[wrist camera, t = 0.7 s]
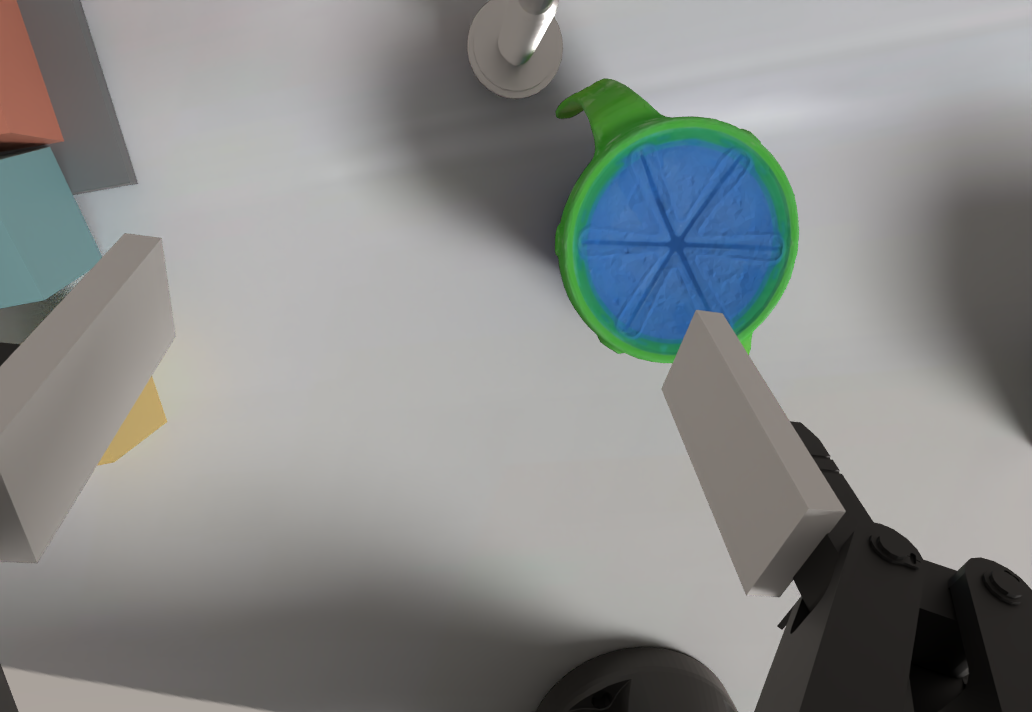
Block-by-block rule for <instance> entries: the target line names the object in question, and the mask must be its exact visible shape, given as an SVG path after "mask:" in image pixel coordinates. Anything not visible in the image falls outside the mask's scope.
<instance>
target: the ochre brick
mask: <svg viewBox="0 0 1032 712" xmlns="http://www.w3.org/2000/svg"><path fill="white" fill-rule="evenodd" d="M21 344H22V343H21ZM21 344H20V345H21ZM166 422H167V420H166V417H165V414H164V411H163V408H162V405H161V402H160V399H159V396H158V393H157V390H156V387H155V384H154V381H153V378H152V376H151V378H150V379H149V381H148V383H147V384H146V386H145V388H144V389H143V391H142V392H141V394H140V396H139V397H138V399H137V401H136V402H135V404H134V406H133V407H132V409H131V410H130V412H129V414H128V415H127V417H126V419H125V420H124V422H123V424H122V425H121V427H120V428H119V430H118V432H117V433H116V435H115V437H114V438H113V440H112V442H111V443H110V445H109V447H108V448H107V450H106V451H105V453H104V455H103V456H102V458H101V460H100V461H99V463H98V465H103V464H108V463H113V462H115V461H116V460H118V459H119V458H120V457H122V456H123V455H124V454H126V453H127V452H128V451H130V450H131V449H132V448H133V447H135V446H136V445H137V444H139V443H140V442H141V441H143V440H144V439H145V438H147V437H148V436H149V435H150V434H152V433H153V432H154V431H156V430H157V429H158V428H160V427H161V426H162V425H164V424H165V423H166ZM98 465H97V466H98Z"/></svg>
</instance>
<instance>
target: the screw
mask: <svg viewBox="0 0 1032 712" xmlns="http://www.w3.org/2000/svg"><path fill="white" fill-rule="evenodd" d="M558 2H559V0H491V1H489V2H488V3H487V4H485V5H484V6H483V7H482V8H481V9H480V10H479V12H478V13H477V14H476V16H475V17H474V19H473V22H472V24H471V26H470V29H469V34H468V39H467V53H468V57H469V62H470V65H471V67H472V70H473V72H474V74H475V75H476V77H477V78H478V80H479V81H480V83H482V84H483V85H484V86H485V87H486V88H487V89H488V90H489V91H491V92H493V93H494V94H496V95H498V96H501V97H504V98H510V99H521V98H527V97H530V96H532V95H535V94H537V93H538V92H540V91H541V90H543V89H544V88H545V87H546V86H547V85H548V84H549V83H550V82H551V81H552V79H553V78H554V76H555V74H556V73H557V71H558V68H559V66H560V63H561V59H562V52H563V43H562V35H561V32H560V28H559V25H558V23H557V21H556V19H555V17H554V15H555V13H556V11H557V8H558Z"/></svg>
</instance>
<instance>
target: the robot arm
mask: <svg viewBox="0 0 1032 712" xmlns="http://www.w3.org/2000/svg"><path fill="white" fill-rule="evenodd" d="M175 337H176V335H175V328H174V321H173V314H172V307H171V300H170V293H169V286H168V279H167V272H166V265H165V258H164V251H163V244H162V238H157V237H150V236H142V235H135V234H127V233H125V234H124V235H123V236H122V237H121V238H120V239H119V240H118V241H117V242H116V243H115V244H114V245H113V246H112V247H111V249H110V250H109V251H108V252H107V253H106V254H105V255H104V256H103V257H102V258H101V259H100V260H99V261H98V262H97V264H96V265H95V266H94V267H93V268H92V269H91V270H90V271H89V272H88V273H87V274H86V275H85V276H84V277H83V279H82V280H81V281H80V282H79V283H78V284H77V285H76V286H75V287H74V288H73V289H72V290H71V291H70V292H69V293H68V295H67V296H66V297H65V298H64V299H63V300H62V301H61V302H60V303H59V304H58V305H57V306H56V307H55V308H54V310H53V311H52V312H51V313H50V314H49V315H48V316H47V317H46V318H45V319H44V320H43V321H42V322H41V323H40V325H39V326H38V327H37V328H36V329H35V330H34V331H33V332H32V333H31V334H30V335H29V336H28V337H27V338H26V340H25V341H24V342H23V343H22V344H21V345H20V344H11V343H1V342H0V562H21V563H38V561H39V560H40V558H41V556H42V555H43V553H44V551H45V550H46V548H47V546H48V545H49V543H50V542H51V540H52V538H53V537H54V535H55V533H56V532H57V530H58V528H59V527H60V525H61V524H62V522H63V520H64V519H65V517H66V515H67V514H68V512H69V510H70V509H71V507H72V505H73V504H74V502H75V501H76V499H77V497H78V496H79V494H80V492H81V491H82V489H83V487H84V486H85V484H86V483H87V481H88V479H89V478H90V476H91V474H92V473H93V471H94V469H95V468H96V466H97V465H98V463H99V461H100V460H101V458H102V456H103V455H104V453H105V451H106V450H107V448H108V447H109V445H110V443H111V442H112V440H113V438H114V437H115V435H116V433H117V432H118V430H119V428H120V427H121V425H122V424H123V422H124V420H125V419H126V417H127V415H128V414H129V412H130V410H131V409H132V407H133V406H134V404H135V402H136V401H137V399H138V397H139V396H140V394H141V392H142V391H143V389H144V388H145V386H146V384H147V383H148V381H149V379H150V378H151V376H152V374H153V373H154V371H155V369H156V368H157V366H158V365H159V363H160V361H161V360H162V358H163V356H164V355H165V353H166V351H167V350H168V348H169V347H170V345H171V343H172V342H173V340H174V338H175ZM662 391H663V394H664V396H665V399H666V401H667V403H668V406H669V408H670V411H671V413H672V416H673V418H674V421H675V423H676V425H677V428H678V430H679V433H680V435H681V438H682V440H683V442H684V445H685V447H686V450H687V452H688V455H689V457H690V460H691V462H692V464H693V467H694V469H695V472H696V474H697V477H698V479H699V481H700V484H701V486H702V489H703V491H704V494H705V496H706V499H707V501H708V503H709V506H710V508H711V511H712V513H713V516H714V518H715V520H716V523H717V525H718V528H719V530H720V533H721V535H722V538H723V540H724V542H725V545H726V547H727V550H728V552H729V555H730V557H731V559H732V562H733V564H734V567H735V569H736V572H737V574H738V577H739V579H740V581H741V584H742V586H743V589H744V591H745V594H746V596H766V597H780V596H781V595H782V594H783V592H784V591H785V590H786V588H787V587H788V586H789V584H790V583H791V582H792V581H793V579H794V582H795V584H796V586H797V588H798V590H799V592H800V594H801V597H800V598H799V600H798V601H797V602H796V603H795V605H794V606H793V607H792V608H791V610H790V611H789V612H788V613H787V615H786V616H785V617H784V618H783V620H782V621H781V622H780V623H779V625H778V626H777V627H779V628H780V629H783V628H784V627H785V626H786V628H785V630H784V633H783V636H782V638H781V641H780V644H779V646H778V649H777V652H776V655H775V657H774V660H773V663H772V665H771V668H770V671H769V673H768V676H767V679H766V681H765V684H764V687H763V689H762V692H761V695H760V698H759V700H758V703H757V706H756V708H755V711H754V712H1032V590H1031V589H1030V588H1029V586H1028V585H1027V584H1026V583H1025V582H1024V581H1023V580H1022V579H1021V578H1020V577H1019V576H1017V575H1016V574H1014V573H1013V572H1012V571H1011V570H1009V569H1008V568H1006V567H1004V566H1002V565H1000V564H998V563H996V562H994V561H991V560H988V559H984V558H971V559H970V560H968V561H967V562H966V563H965V564H964V565H963V566H962V567H961V568H960V569H959V570H958V571H956V570H953V569H950V568H947V567H944V566H941V565H938V564H935V563H932V562H929V561H926V560H923V558H922V557H921V555H920V553H919V552H918V550H917V549H916V548H915V547H914V546H913V545H912V543H911V542H910V541H909V540H908V539H907V538H905V537H904V536H902V535H901V534H899V533H898V532H897V531H895V530H894V529H891V528H889V527H887V526H884V525H882V524H878V523H874V522H873V521H872V519H871V518H870V516H869V515H868V513H867V512H866V510H865V508H864V507H863V505H862V504H861V502H860V501H859V499H858V498H857V496H856V495H855V493H854V492H853V490H852V489H851V487H850V486H849V484H848V483H847V481H846V480H845V478H844V476H843V475H842V474H839V471H840V470H839V469H838V467H837V466H836V464H835V463H834V461H833V460H830V455H829V454H828V452H827V451H826V449H825V447H824V446H823V444H822V443H821V441H820V440H819V439H818V438H817V437H816V436H815V435H814V434H813V433H812V432H811V431H810V430H809V429H807V428H806V427H805V426H804V425H803V424H802V423H800V422H790V421H789V419H788V418H787V416H786V414H785V413H784V411H783V410H782V408H781V406H780V405H779V403H778V402H777V400H776V398H775V397H774V395H773V394H772V392H771V390H770V389H769V387H768V386H767V384H766V382H765V381H764V379H763V378H762V376H761V374H760V373H759V371H758V370H757V368H756V366H755V365H754V363H753V361H752V360H751V358H750V357H749V355H748V353H747V352H746V350H745V349H744V347H743V345H742V344H741V342H740V341H739V339H738V337H737V336H736V334H735V333H734V331H733V329H732V328H731V326H730V325H729V323H728V321H727V320H726V318H725V317H724V315H723V313H716V312H709V311H701V310H696V311H695V313H694V315H693V318H692V320H691V322H690V325H689V327H688V329H687V332H686V334H685V336H684V338H683V341H682V343H681V345H680V348H679V350H678V352H677V355H676V357H675V359H674V361H673V364H672V366H671V368H670V371H669V373H668V375H667V377H666V380H665V382H664V384H663V387H662ZM0 712H18V709H17V707H16V704H15V701H14V699H13V696H12V693H11V691H10V688H9V685H8V683H7V680H6V678H5V675H4V672H3V670H2V667H1V664H0ZM536 712H738V711H737V709H736V707H735V705H734V703H733V702H732V700H731V698H730V696H729V695H728V693H727V691H726V689H725V688H724V686H723V684H722V683H721V682H720V680H719V679H718V678H717V677H716V675H715V674H714V673H713V672H712V671H710V670H709V669H708V668H707V667H706V666H704V665H703V664H702V663H700V662H698V661H697V660H695V659H693V658H691V657H689V656H687V655H684V654H681V653H679V652H675V651H671V650H667V649H661V648H647V647H646V648H630V649H623V650H619V651H614V652H611V653H607V654H604V655H602V656H599V657H596V658H594V659H592V660H590V661H588V662H586V663H584V664H582V665H580V666H579V667H577V668H576V669H574V670H573V671H571V672H570V673H569V674H567V675H566V676H565V677H563V678H562V679H561V680H560V681H559V682H558V683H557V684H556V685H555V686H554V687H553V688H552V689H551V690H550V691H549V693H548V694H547V695H546V697H545V698H544V699H543V701H542V702H541V704H540V706H539V707H538V709H537V711H536Z"/></svg>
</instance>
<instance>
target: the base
mask: <svg viewBox="0 0 1032 712" xmlns="http://www.w3.org/2000/svg"><path fill="white" fill-rule="evenodd" d="M46 147H50V148H51V150H52V152H53V154H54V156H55V158H56V161H57V163H58V165H59V167H60V169H61V171H62V173H63V175H64V178H65V180H66V182H67V184H68V186H69V188H70V190H71V192H72V194H73V195H76V194H81V193H87V192H93V191H98V190H104V189H110V188H116V187H121V186H127V185H133V184H138V183H137V179H136V176H135V173H134V170H133V167H132V163H131V160H130V157H129V154H128V151H127V148H126V144H125V141H124V138H123V135H122V132H121V129H120V125H119V122H118V119H117V116H116V113H115V110H114V106H113V103H112V100H111V97H110V94H109V91H108V87H107V84H106V81H105V78H104V75H103V72H102V68H101V65H100V62H99V59H98V56H97V53H96V49H95V46H94V43H93V40H92V37H91V34H90V30H89V27H88V24H87V21H86V18H85V15H84V11H83V8H82V5H81V2H80V0H0V155H5V154H11V153H17V152H22V151H28V150H34V149H40V148H46Z"/></svg>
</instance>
